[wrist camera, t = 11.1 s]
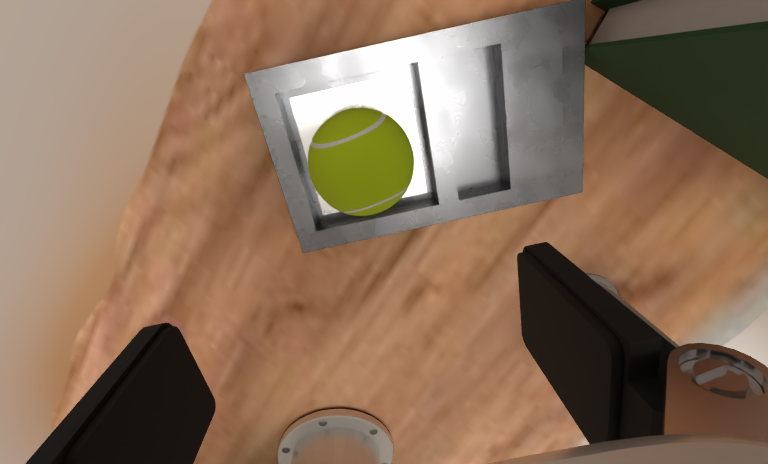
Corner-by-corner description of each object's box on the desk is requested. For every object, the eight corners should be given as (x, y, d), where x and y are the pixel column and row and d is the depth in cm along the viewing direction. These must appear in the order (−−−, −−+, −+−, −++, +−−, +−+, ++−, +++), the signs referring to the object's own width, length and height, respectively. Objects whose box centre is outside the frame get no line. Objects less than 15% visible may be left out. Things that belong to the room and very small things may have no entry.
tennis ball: (418, 178, 29) (437, 208, 22) (335, 209, 29) (330, 247, 23) (388, 89, 26) (399, 93, 20) (297, 124, 27) (279, 140, 20)
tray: (563, 182, 31) (582, 192, 28) (307, 238, 31) (302, 252, 28) (562, 5, 26) (585, -3, 23) (254, 73, 26) (244, 73, 23)
